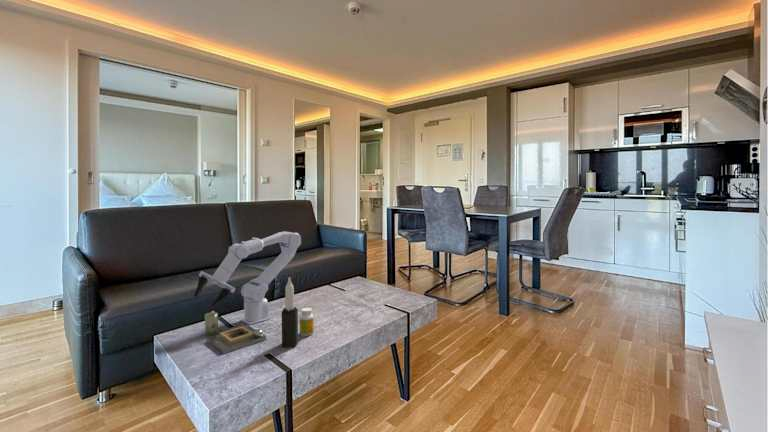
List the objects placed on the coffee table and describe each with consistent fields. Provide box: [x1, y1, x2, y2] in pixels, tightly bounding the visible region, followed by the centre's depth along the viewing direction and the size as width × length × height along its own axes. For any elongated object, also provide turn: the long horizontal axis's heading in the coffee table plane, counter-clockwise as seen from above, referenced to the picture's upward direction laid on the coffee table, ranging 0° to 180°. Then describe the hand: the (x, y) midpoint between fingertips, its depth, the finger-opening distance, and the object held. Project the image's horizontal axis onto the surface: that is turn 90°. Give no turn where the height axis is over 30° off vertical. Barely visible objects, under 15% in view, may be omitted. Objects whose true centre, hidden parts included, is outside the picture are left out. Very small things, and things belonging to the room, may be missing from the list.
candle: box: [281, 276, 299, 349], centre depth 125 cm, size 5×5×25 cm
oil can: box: [204, 310, 219, 338], centre depth 134 cm, size 5×5×10 cm
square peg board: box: [206, 325, 267, 355], centre depth 128 cm, size 16×14×4 cm
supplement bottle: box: [299, 307, 315, 337], centre depth 136 cm, size 5×5×10 cm
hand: (204, 301), depth 132 cm, fingers open, 7 cm apart
